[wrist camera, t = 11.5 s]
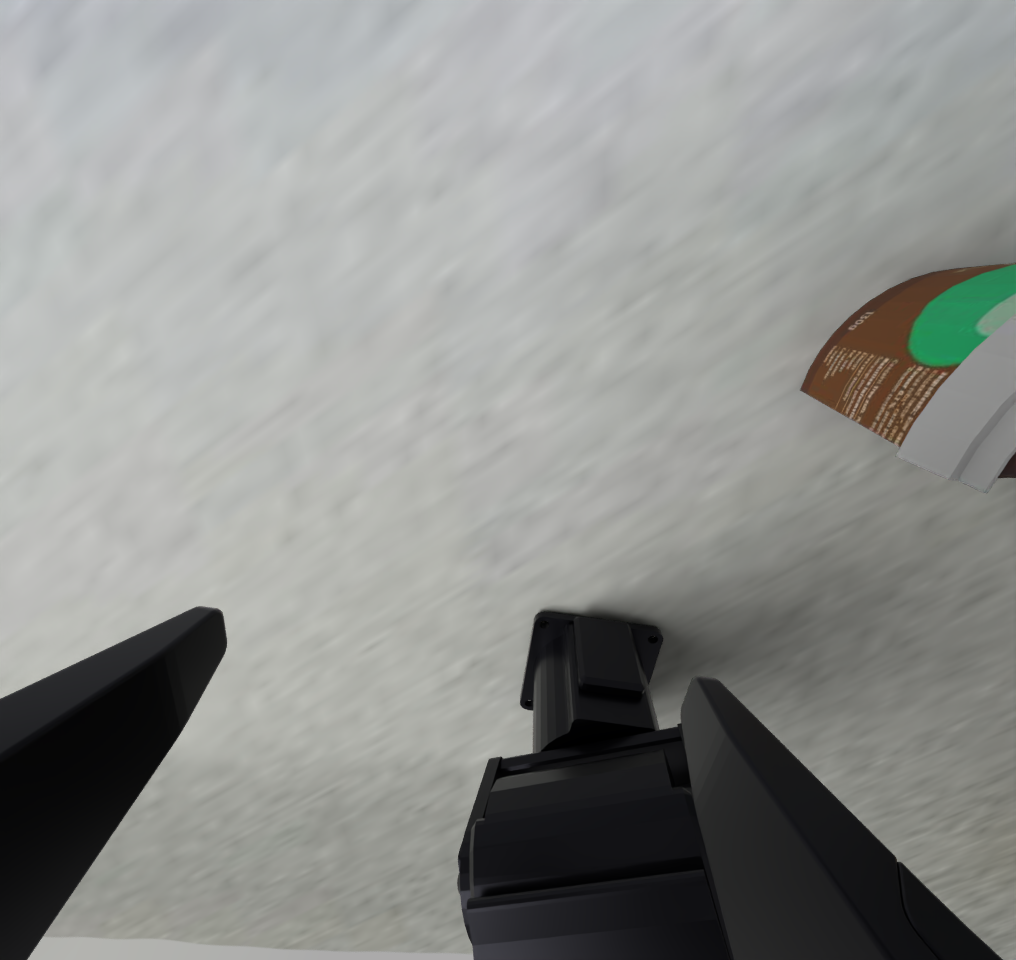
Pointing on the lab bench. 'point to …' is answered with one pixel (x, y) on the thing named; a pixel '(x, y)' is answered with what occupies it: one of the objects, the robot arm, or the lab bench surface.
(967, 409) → the food container
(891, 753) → the lab bench surface
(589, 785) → the robot arm
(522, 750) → the lab bench surface
